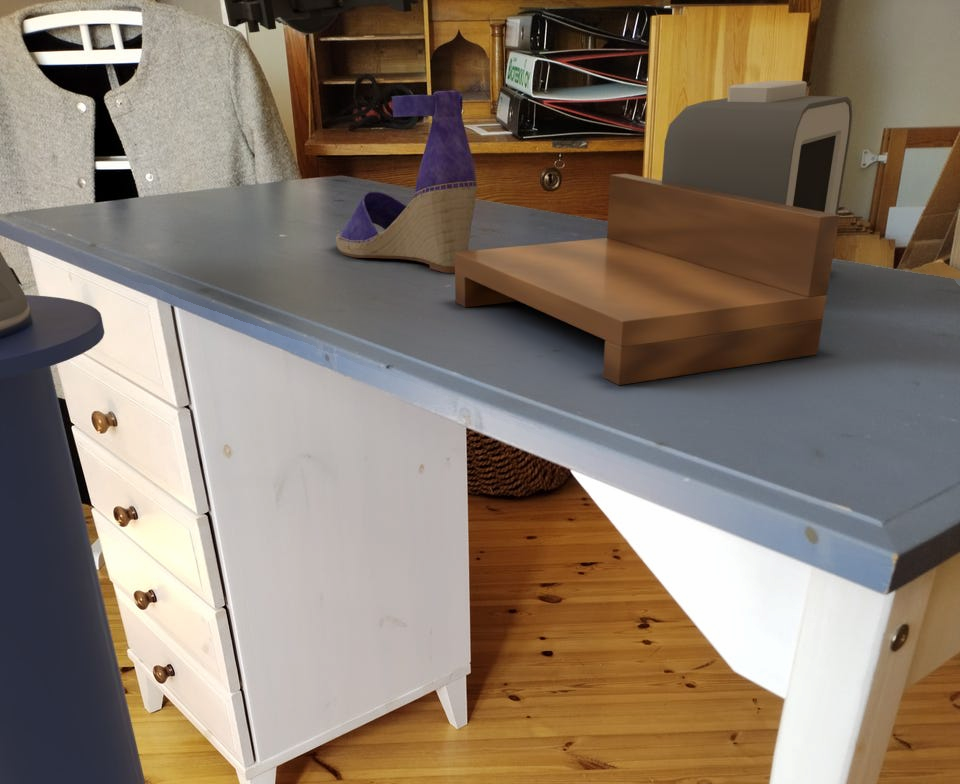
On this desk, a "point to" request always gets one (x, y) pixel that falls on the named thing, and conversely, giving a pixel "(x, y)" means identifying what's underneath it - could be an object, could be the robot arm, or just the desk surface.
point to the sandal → (422, 195)
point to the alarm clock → (763, 145)
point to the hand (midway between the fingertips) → (338, 4)
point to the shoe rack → (674, 280)
